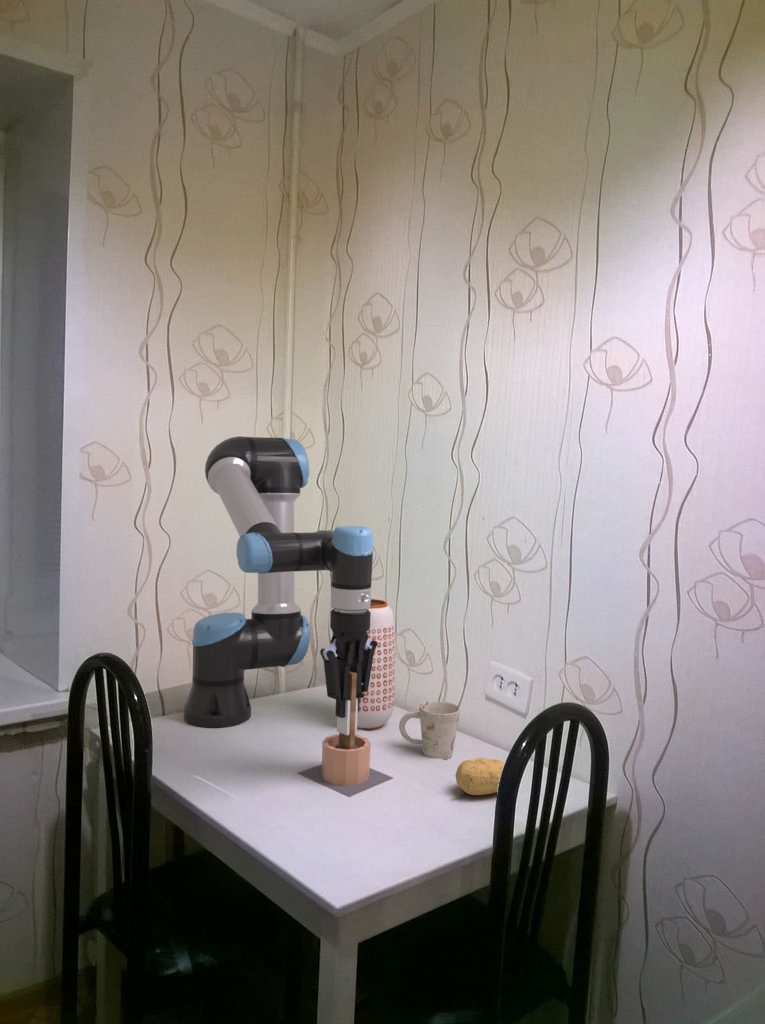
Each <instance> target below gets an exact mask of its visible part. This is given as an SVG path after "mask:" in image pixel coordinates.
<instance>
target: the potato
mask: <svg viewBox="0 0 765 1024" xmlns="http://www.w3.org/2000/svg"><path fill="white" fill-rule="evenodd" d="M504 763H506V762H505V761H503V760H499V759H493V758H487V757H477V758H473V759H465V760H463V761H462V762H461V763H459V765H458V767H457V768H456V771H455V772H456V773H455V780H456V784H457V785H458V786H459V787H460V788H461V790H462V791H463V792H465V793H466V794H468V795H472V796H484V795H490V794H491V795H492V794H495V793H498V792H497V789H498V784H499V779H500V776H501V773H502V769H503V766H504Z"/></svg>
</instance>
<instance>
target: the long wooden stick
mask: <svg viewBox="0 0 765 1024" xmlns="http://www.w3.org/2000/svg"><path fill="white" fill-rule="evenodd" d="M356 684H357V673H355V672H352V671H350V674H349V687H348V699H347V700H350V701H351V708H350V735H344V734H342V733H339V732H338V734H339V744H337V745H335V748H338V749H346V750H347V749H357V748H358V746H357V745H356V744H355V735H356V733H355V715H356Z"/></svg>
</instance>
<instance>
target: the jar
mask: <svg viewBox="0 0 765 1024" xmlns="http://www.w3.org/2000/svg"><path fill="white" fill-rule="evenodd" d="M321 744H322V749H321V751H322V752H321V764H322V777H323V779H324V780H325V781H327V782H329V783H332V784H336V785H343V786H348V785H358V784H360V783H363V782H365V781H367V779H368V777H369V775H370V768H371V767H370V766H371V746H372V745H371V741H370V740H369V738H367V737H365V736H362V735H359V734H355V744H356V745H357V746H358V748H357V749H347V750H346V749H338V748H335V745H337V744H339V733H338V734H337V733H336V734H333V735H330V736H329V735H328V736H327V737H325V738H324V739H323V741H322V743H321Z"/></svg>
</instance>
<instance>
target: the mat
mask: <svg viewBox="0 0 765 1024" xmlns="http://www.w3.org/2000/svg"><path fill="white" fill-rule="evenodd" d="M297 775H300V776H302V777H304V778H307V779H309V780H311V781H312V782H315V783H318V784H319V785H322V786H324V787H326V788H328V789H331V790H333V791H335V792H337V793H339V794H341V795H343V796H346V797H348V798H351V797H353V796H355V795H357V794H360V793H362V792H365V791H367V790H369V789H372V788H374V787H376V786H379V785H381V784H383V783H385V782H389V781H391V780H392V779H394V777H393V776H390V775H388V774H386V773H383V772H380V771H378V770H376V769H373V768H371V767H370V775H369V777H368V779H367V781H365V782H363V783H360V784H358V785H348V786H343V785H336V784H332V783H329V782H327V781H325V780H324V779H323V777H322V763H321V764H319V765H315V766H313V767H310V768H308V769H305V770H302V771H300V772H298V773H297Z"/></svg>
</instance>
